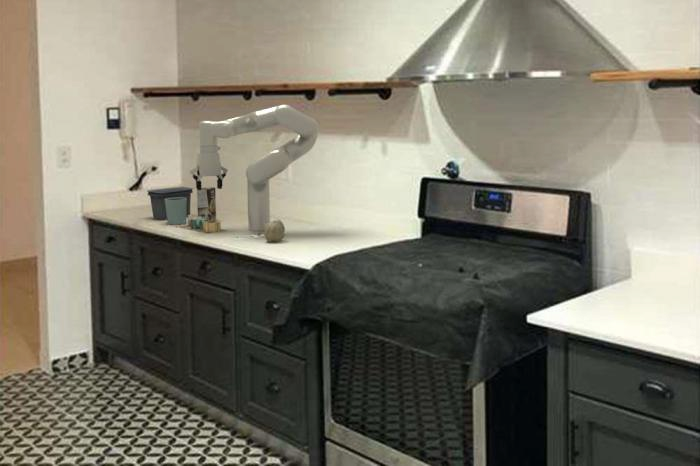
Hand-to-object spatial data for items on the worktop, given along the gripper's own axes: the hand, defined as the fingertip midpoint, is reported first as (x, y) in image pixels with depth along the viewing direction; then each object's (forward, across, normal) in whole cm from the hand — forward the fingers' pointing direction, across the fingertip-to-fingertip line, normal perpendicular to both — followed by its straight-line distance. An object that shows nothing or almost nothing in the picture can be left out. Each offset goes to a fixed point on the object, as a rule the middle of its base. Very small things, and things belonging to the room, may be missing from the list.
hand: (209, 189), depth 354 cm
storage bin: (+20, -6, -58) cm, 61 cm away
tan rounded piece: (+19, -12, +35) cm, 42 cm away
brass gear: (+18, 0, +2) cm, 18 cm away
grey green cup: (+20, 0, -36) cm, 42 cm away
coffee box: (+20, -14, -34) cm, 42 cm away
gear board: (+20, +1, -7) cm, 21 cm away
